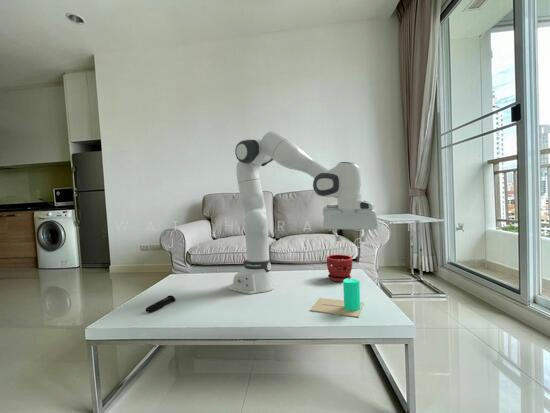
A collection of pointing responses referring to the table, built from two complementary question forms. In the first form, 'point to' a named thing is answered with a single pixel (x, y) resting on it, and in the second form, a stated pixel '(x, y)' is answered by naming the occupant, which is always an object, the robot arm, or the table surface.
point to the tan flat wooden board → (334, 307)
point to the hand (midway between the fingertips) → (350, 241)
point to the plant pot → (339, 267)
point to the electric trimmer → (160, 304)
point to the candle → (351, 294)
